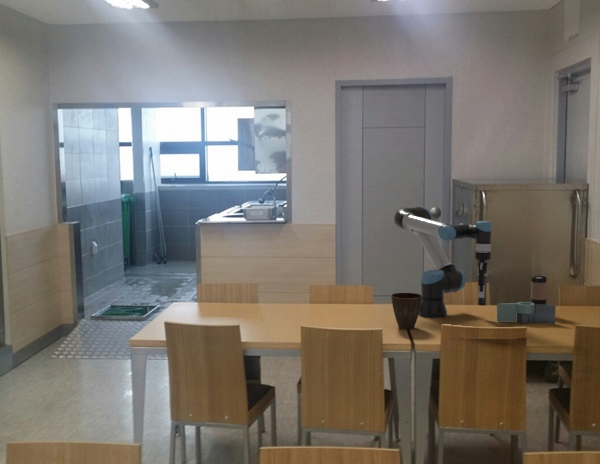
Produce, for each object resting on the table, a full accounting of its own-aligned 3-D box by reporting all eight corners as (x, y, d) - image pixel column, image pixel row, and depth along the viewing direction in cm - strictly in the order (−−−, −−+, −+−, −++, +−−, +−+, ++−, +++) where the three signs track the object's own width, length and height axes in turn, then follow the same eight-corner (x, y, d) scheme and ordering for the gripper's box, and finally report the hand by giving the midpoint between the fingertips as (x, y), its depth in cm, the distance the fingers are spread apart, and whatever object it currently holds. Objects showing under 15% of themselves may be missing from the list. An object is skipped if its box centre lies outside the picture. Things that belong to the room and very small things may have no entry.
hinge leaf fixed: (516, 322, 337) (516, 304, 336) (517, 319, 345) (518, 301, 344) (554, 325, 330) (555, 307, 329) (555, 322, 338) (555, 303, 337)
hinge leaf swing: (531, 319, 343) (531, 301, 342) (535, 323, 335) (536, 305, 334) (495, 319, 344) (495, 302, 343) (499, 323, 336) (499, 305, 335)
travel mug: (547, 316, 350) (547, 278, 348) (531, 316, 352) (532, 278, 350) (544, 313, 358) (545, 276, 356) (529, 312, 359) (530, 275, 357)
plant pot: (418, 323, 339) (418, 292, 337) (424, 330, 324) (425, 298, 323) (389, 324, 339) (389, 292, 337) (393, 331, 324) (393, 298, 322)
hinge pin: (476, 305, 346) (476, 274, 344) (477, 303, 350) (478, 272, 349) (486, 306, 344) (487, 275, 342) (487, 304, 348) (488, 273, 347)
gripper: (488, 254, 335) (487, 300, 337) (492, 249, 350) (491, 294, 353) (473, 253, 338) (472, 299, 340) (478, 249, 353) (477, 293, 356)
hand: (482, 296), depth 347 cm, fingers closed on hinge pin, 4 cm apart
